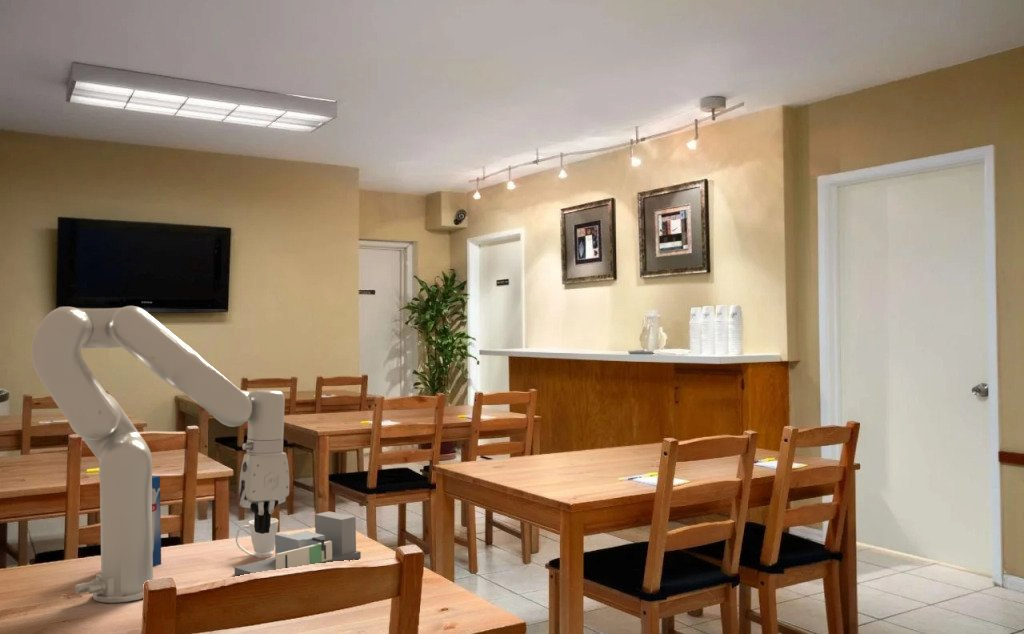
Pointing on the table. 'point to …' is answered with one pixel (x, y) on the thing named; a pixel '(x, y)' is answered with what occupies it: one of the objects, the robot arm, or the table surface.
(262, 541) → the cup
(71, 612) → the table surface
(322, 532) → the frame
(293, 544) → the grey block
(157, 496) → the milk carton
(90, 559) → the table surface
